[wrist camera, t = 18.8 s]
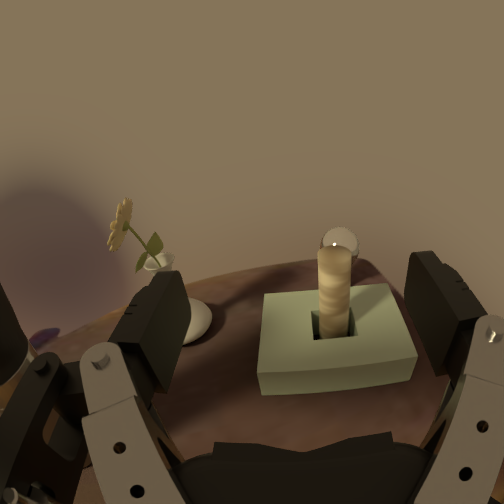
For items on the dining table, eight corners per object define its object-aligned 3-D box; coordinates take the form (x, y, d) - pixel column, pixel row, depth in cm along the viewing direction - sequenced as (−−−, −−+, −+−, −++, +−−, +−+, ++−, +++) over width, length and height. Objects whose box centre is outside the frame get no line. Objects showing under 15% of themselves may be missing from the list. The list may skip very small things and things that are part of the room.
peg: (320, 359, 41) (319, 263, 33) (318, 339, 44) (316, 246, 36) (347, 356, 40) (354, 260, 32) (344, 337, 43) (347, 243, 36)
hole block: (261, 395, 37) (256, 372, 34) (268, 317, 50) (264, 293, 48) (409, 380, 34) (418, 355, 31) (383, 306, 48) (387, 283, 45)
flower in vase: (172, 304, 57) (134, 181, 46) (224, 312, 53) (192, 174, 42) (135, 350, 47) (76, 213, 35) (190, 366, 43) (134, 209, 31)
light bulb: (329, 302, 51) (328, 241, 46) (315, 282, 57) (312, 224, 52) (364, 293, 52) (367, 232, 46) (348, 273, 58) (348, 217, 52)
